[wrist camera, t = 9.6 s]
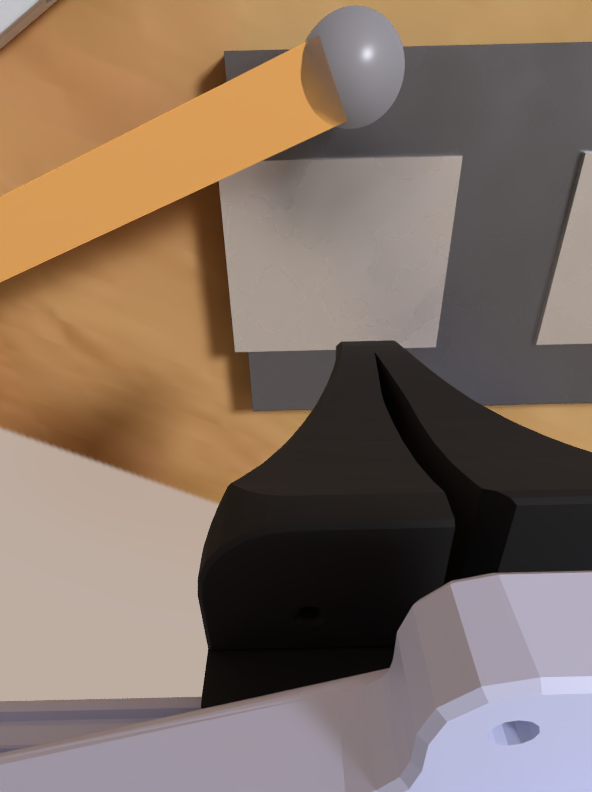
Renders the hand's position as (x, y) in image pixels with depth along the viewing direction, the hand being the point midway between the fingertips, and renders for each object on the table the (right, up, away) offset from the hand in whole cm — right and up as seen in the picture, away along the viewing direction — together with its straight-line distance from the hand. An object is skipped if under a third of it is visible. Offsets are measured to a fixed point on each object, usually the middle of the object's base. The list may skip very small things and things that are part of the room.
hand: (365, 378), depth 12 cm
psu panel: (+8, +5, +8) cm, 13 cm away
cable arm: (-6, +7, +4) cm, 10 cm away
